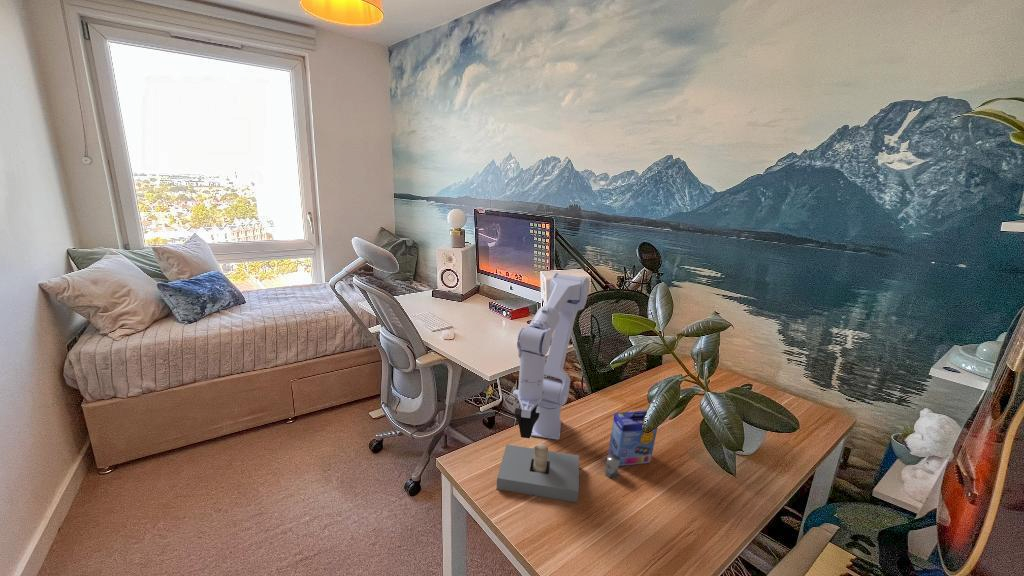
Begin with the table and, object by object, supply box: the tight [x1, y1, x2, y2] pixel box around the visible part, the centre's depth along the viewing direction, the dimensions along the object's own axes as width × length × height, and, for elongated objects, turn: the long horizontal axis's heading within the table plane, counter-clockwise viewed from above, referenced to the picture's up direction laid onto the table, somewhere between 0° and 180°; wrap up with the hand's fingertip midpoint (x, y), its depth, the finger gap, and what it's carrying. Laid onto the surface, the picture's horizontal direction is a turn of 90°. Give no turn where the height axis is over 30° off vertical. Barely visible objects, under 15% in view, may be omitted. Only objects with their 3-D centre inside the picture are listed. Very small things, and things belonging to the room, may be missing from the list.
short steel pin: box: [604, 453, 620, 480], centre depth 98 cm, size 3×3×4 cm
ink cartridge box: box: [608, 409, 659, 467], centre depth 103 cm, size 10×6×14 cm, turn 103°
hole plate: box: [496, 444, 580, 504], centre depth 96 cm, size 12×18×3 cm, turn 81°
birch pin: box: [532, 443, 549, 474], centre depth 96 cm, size 3×3×8 cm
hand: (527, 427), depth 100 cm, fingers open, 7 cm apart
